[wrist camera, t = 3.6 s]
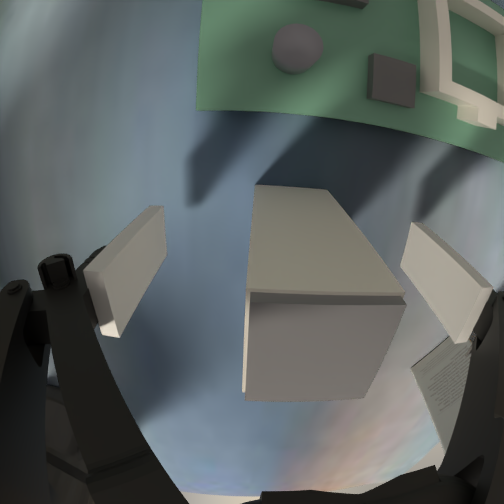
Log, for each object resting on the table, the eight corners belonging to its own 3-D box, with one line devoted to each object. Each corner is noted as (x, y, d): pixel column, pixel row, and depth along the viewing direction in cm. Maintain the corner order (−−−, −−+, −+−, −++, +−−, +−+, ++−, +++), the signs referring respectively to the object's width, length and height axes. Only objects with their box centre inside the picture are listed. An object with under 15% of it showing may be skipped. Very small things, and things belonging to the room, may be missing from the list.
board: (201, 110, 14) (183, 109, 11) (214, -62, 8) (205, -93, 5) (514, 167, 14) (546, 181, 10) (515, 26, 8) (544, 24, 5)
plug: (251, 250, 17) (241, 401, 8) (254, 184, 16) (245, 298, 6) (318, 254, 17) (365, 399, 8) (327, 189, 15) (411, 301, 6)
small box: (481, 354, 22) (530, 444, 10) (437, 390, 24) (474, 484, 13) (460, 323, 20) (527, 437, 8) (408, 368, 22) (452, 488, 10)
